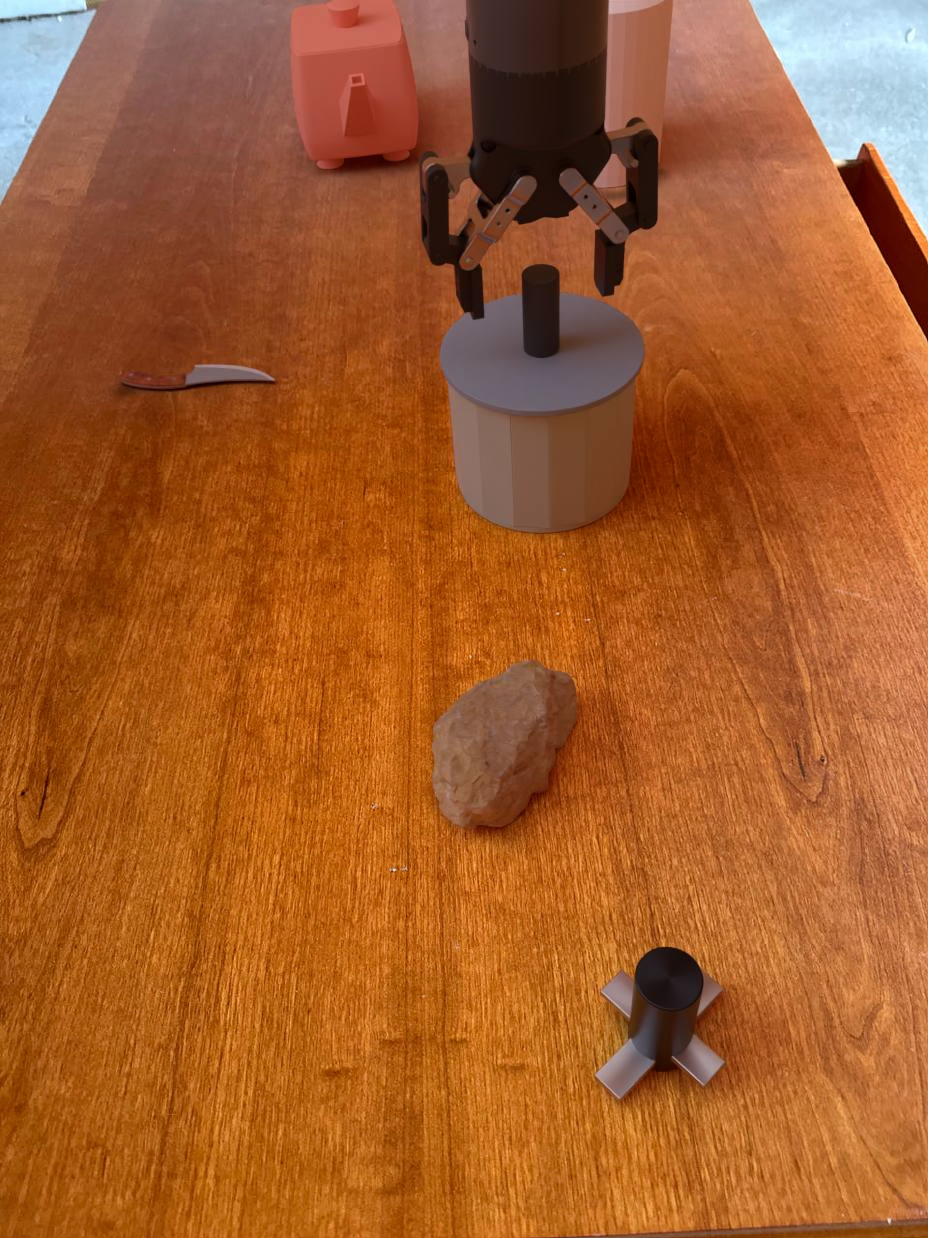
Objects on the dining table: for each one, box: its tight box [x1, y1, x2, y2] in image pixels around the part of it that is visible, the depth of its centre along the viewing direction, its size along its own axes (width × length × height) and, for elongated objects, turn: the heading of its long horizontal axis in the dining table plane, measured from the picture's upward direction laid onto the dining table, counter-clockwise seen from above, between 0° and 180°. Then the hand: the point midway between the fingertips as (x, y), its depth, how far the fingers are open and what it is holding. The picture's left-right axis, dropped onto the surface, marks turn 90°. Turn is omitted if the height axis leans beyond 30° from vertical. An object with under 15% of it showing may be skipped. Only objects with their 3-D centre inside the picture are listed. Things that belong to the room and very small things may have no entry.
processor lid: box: [439, 263, 646, 417], centre depth 74 cm, size 14×14×7 cm
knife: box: [117, 364, 276, 390], centre depth 94 cm, size 13×1×3 cm
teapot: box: [290, 0, 419, 170], centre depth 116 cm, size 22×13×14 cm, turn 7°
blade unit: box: [593, 946, 726, 1103], centre depth 53 cm, size 8×6×7 cm
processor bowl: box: [447, 378, 637, 534], centre depth 80 cm, size 13×13×10 cm
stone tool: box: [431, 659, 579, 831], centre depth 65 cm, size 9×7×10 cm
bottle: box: [594, 0, 674, 189], centre depth 107 cm, size 12×12×25 cm
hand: (540, 301), depth 73 cm, fingers open, 8 cm apart
